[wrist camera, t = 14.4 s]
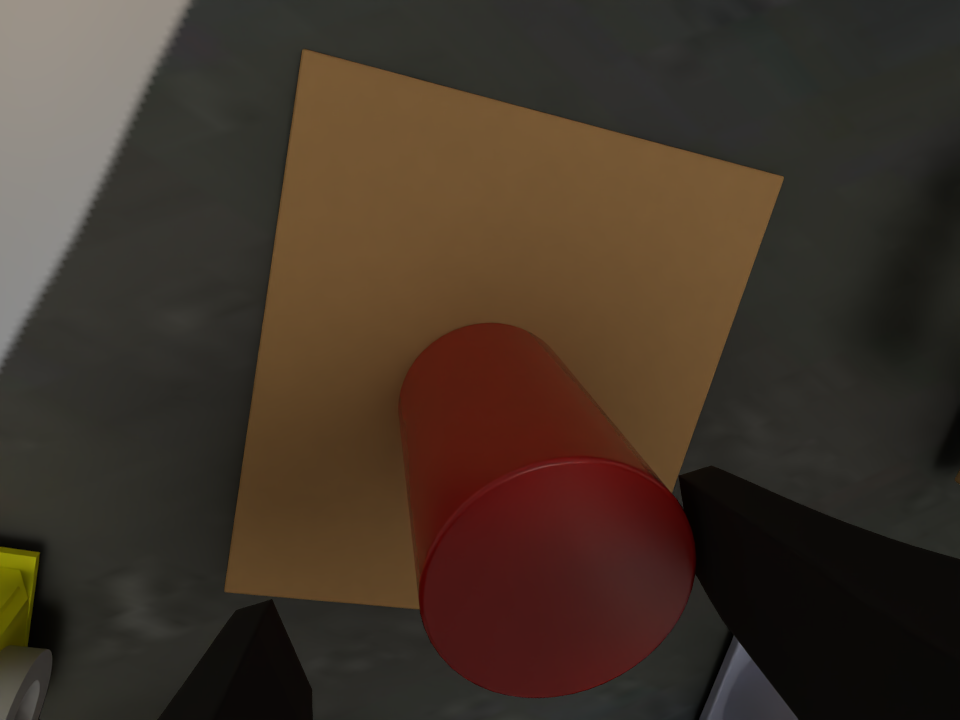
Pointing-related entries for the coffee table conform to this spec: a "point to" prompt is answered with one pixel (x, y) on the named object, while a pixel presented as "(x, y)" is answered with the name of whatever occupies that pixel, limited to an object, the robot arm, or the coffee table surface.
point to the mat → (465, 301)
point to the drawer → (958, 477)
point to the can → (533, 520)
